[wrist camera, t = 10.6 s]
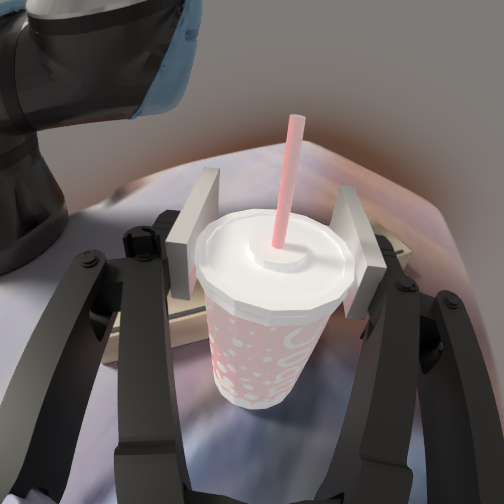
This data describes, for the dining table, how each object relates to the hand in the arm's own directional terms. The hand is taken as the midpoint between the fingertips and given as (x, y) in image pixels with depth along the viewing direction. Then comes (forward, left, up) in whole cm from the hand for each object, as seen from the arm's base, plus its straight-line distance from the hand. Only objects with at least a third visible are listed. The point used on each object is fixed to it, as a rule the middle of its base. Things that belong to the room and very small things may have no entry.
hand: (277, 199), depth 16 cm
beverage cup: (+4, -3, -9) cm, 10 cm away
